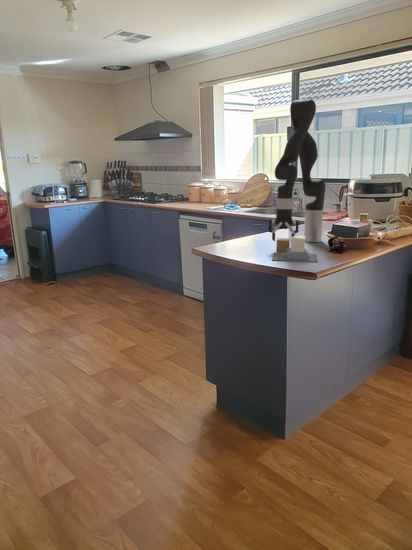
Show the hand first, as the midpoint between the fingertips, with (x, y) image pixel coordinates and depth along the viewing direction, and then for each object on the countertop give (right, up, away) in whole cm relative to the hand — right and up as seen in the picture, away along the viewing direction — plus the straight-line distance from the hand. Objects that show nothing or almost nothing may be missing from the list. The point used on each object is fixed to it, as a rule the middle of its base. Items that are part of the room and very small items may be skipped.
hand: (283, 241), depth 211 cm
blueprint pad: (+4, -9, -13) cm, 16 cm away
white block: (+4, -5, -14) cm, 15 cm away
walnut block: (0, -5, +2) cm, 5 cm away
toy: (+26, -5, +2) cm, 27 cm away
